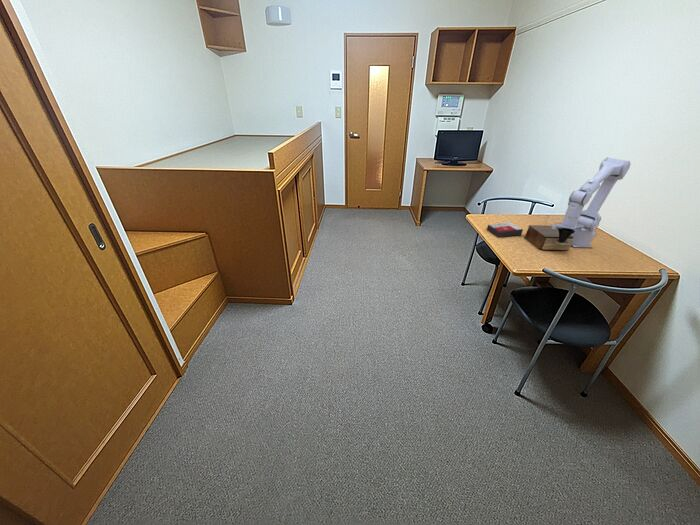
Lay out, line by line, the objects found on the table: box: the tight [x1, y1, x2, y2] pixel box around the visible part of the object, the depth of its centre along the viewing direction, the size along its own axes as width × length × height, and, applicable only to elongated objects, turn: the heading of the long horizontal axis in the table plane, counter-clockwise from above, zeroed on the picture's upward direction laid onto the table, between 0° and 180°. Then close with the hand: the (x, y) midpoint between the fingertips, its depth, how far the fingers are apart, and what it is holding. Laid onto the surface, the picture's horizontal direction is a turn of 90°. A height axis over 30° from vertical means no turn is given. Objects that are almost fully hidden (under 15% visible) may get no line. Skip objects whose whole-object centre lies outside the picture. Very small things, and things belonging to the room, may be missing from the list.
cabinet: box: [524, 224, 573, 251], centre depth 155 cm, size 15×15×8 cm
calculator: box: [486, 221, 524, 238], centre depth 167 cm, size 11×4×15 cm
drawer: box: [542, 238, 573, 251], centre depth 151 cm, size 18×13×6 cm
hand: (561, 242), depth 146 cm, fingers closed, pressing on drawer
